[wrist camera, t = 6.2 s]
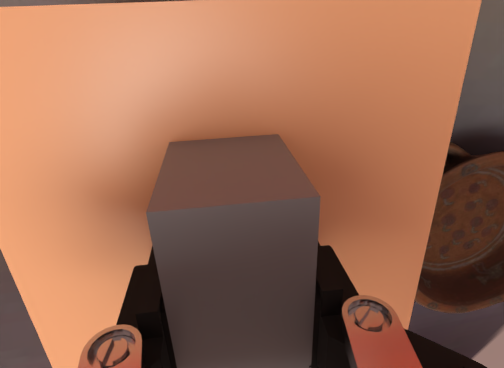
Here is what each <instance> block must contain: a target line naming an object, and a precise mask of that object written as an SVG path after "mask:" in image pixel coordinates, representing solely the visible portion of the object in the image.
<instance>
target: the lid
mask: <svg viewBox="0 0 504 368" xmlns="http://www.w3.org/2000/svg"><path fill="white" fill-rule="evenodd" d="M480 5H481V0H193V1H164V2H135V3H105V4H76V5H47V6H18V7H0V249H1V251H2V253H3V255H4V258H5V260H6V262H7V265H8V267H9V269H10V271H11V274H12V276H13V278H14V281H15V283H16V285H17V287H18V290H19V292H20V294H21V297H22V299H23V301H24V303H25V306H26V308H27V310H28V313H29V315H30V317H31V319H32V322H33V324H34V326H35V329H36V331H37V333H38V335H39V338H40V340H41V342H42V345H43V347H44V349H45V351H46V354H47V356H48V358H49V361H50V363H51V365H52V367H53V368H78V365H79V360H80V356H81V353H82V351H83V348H84V346H85V345H86V344H87V342H88V341H89V340H90V339H91V338H92V337H93V336H94V335H96V334H97V333H98V332H100V331H102V330H104V329H105V328H108V327H111V326H114V325H116V324H117V320H118V317H119V314H120V311H121V307H122V304H123V301H124V298H125V294H126V291H127V288H128V285H129V281H130V278H131V275H132V272H133V269H134V267H135V266H137V265H147V264H148V261H149V257H150V253H151V249H152V245H153V250H154V255H155V260H156V265H157V270H158V275H159V280H160V285H161V290H162V295H163V300H164V305H165V310H166V315H167V320H168V325H169V330H170V335H171V340H172V345H173V350H174V355H175V360H176V365H177V368H309V366H310V365H311V360H312V342H313V324H314V306H315V287H316V269H317V251H318V242H319V244H320V246H325V245H330V246H331V247H332V248H333V250H334V252H335V254H336V255H337V257H338V259H339V261H340V262H341V264H342V266H343V268H344V269H345V271H346V273H347V275H348V276H349V278H350V280H351V282H352V283H353V285H354V287H355V289H356V290H357V292H358V294H359V295H367V296H373V297H376V298H379V299H381V300H383V301H384V302H386V303H387V304H389V305H390V306H391V307H392V308H393V309H394V311H395V312H396V314H397V315H398V318H399V320H400V322H401V324H402V326H403V328H404V329H406V330H408V327H409V323H410V318H411V314H412V309H413V305H414V300H415V296H416V291H417V287H418V282H419V278H420V273H421V269H422V264H423V260H424V255H425V251H426V246H427V242H428V238H429V233H430V229H431V224H432V220H433V215H434V211H435V206H436V202H437V197H438V193H439V188H440V184H441V179H442V175H443V170H444V166H445V161H446V157H447V152H448V148H449V144H450V139H451V135H452V130H453V126H454V121H455V117H456V112H457V108H458V103H459V99H460V94H461V90H462V85H463V81H464V76H465V72H466V67H467V63H468V58H469V54H470V50H471V45H472V41H473V36H474V32H475V27H476V23H477V18H478V14H479V9H480Z"/></svg>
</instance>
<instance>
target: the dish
mask: <svg viewBox="0 0 504 368" xmlns="http://www.w3.org/2000/svg"><path fill="white" fill-rule="evenodd" d="M414 301H415V302H417V303H418V304H420V305H422V306H424V307H425V308H428V309H431V310H435V311H440V312H445V313H465V312H470V311H475V310H478V309H482V308H486V307H489V306H491V305H494V304H497V303H500V302H504V151H500V152H493V153H489V154H483V155H473V156H472V155H470V154H469V153H467V152H466V151H465V150H463V149H462V148H461V147H459V146H458V145H456V144H454V143H452V142H450V144H449V148H448V152H447V159H446V161H445V166H444V170H443V175H442V179H441V184H440V188H439V193H438V197H437V202H436V206H435V211H434V215H433V220H432V224H431V229H430V233H429V238H428V242H427V246H426V251H425V255H424V260H423V264H422V269H421V273H420V278H419V282H418V287H417V291H416V296H415V300H414Z"/></svg>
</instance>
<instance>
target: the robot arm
mask: <svg viewBox="0 0 504 368" xmlns="http://www.w3.org/2000/svg"><path fill="white" fill-rule="evenodd" d="M78 368H177V365H176V360H175V355H174V350H173V345H172V340H171V335H170V330H169V325H168V320H167V315H166V310H165V305H164V300H163V295H162V290H161V285H160V280H159V275H158V270H157V265H156V260H155V255H154V250H153V245H152V249H151V253H150V257H149V261H148V264H147V265H137V266H135V267H134V269H133V272H132V275H131V278H130V281H129V285H128V288H127V291H126V294H125V298H124V301H123V304H122V307H121V311H120V314H119V317H118V320H117V324H116V325H114V326H111V327H108V328H105V329H104V330H102V331H100V332H98V333H97V334H96V335H94V336H93V337H92V338H91V339H90V340H89V341H88V342H87V344H86V345H85V346H84V348H83V351H82V353H81V356H80V360H79V365H78ZM309 368H487V367H485V366H484V365H482V364H480V363H478V362H476V361H474V360H472V359H469V358H467V357H465V356H463V355H461V354H459V353H456V352H454V351H452V350H450V349H448V348H446V347H443V346H441V345H439V344H437V343H435V342H432V341H430V340H428V339H426V338H424V337H422V336H419V335H417V334H415V333H413V332H411V331H409V330H406V329H404V328H403V326H402V324H401V322H400V320H399V318H398V315H397V314H396V312H395V311H394V309H393V308H392V307H391V306H390V305H389V304H387V303H386V302H384V301H383V300H381V299H379V298H376V297H373V296H367V295H359V294H358V292H357V290H356V289H355V287H354V285H353V283H352V282H351V280H350V278H349V276H348V275H347V273H346V271H345V269H344V268H343V266H342V264H341V262H340V261H339V259H338V257H337V255H336V254H335V252H334V250H333V248H332V247H331V246H330V245H325V246H320V244H319V242H318V251H317V269H316V287H315V306H314V324H313V342H312V360H311V365H310V366H309Z"/></svg>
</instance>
